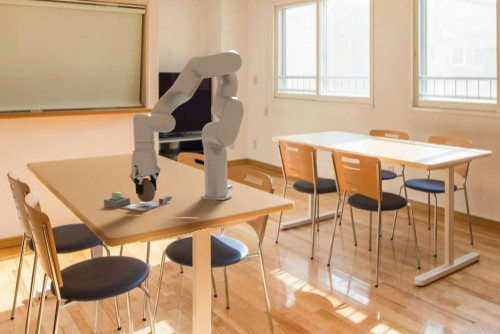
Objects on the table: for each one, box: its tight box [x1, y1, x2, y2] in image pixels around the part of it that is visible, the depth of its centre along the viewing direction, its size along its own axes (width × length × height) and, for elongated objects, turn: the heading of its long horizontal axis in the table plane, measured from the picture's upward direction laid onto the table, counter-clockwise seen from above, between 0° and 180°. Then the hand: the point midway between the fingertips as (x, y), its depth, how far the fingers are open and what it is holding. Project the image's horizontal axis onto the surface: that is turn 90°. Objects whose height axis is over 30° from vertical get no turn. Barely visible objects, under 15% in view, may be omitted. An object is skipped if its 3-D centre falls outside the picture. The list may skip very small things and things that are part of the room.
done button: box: [111, 191, 123, 201], centre depth 196 cm, size 4×4×4 cm
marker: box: [158, 195, 173, 203], centre depth 202 cm, size 10×2×2 cm, turn 169°
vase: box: [136, 177, 156, 202], centre depth 193 cm, size 7×7×9 cm
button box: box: [103, 196, 131, 209], centre depth 197 cm, size 7×7×3 cm
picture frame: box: [118, 200, 169, 213], centre depth 195 cm, size 15×12×1 cm
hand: (146, 191), depth 193 cm, fingers closed on vase, 6 cm apart
